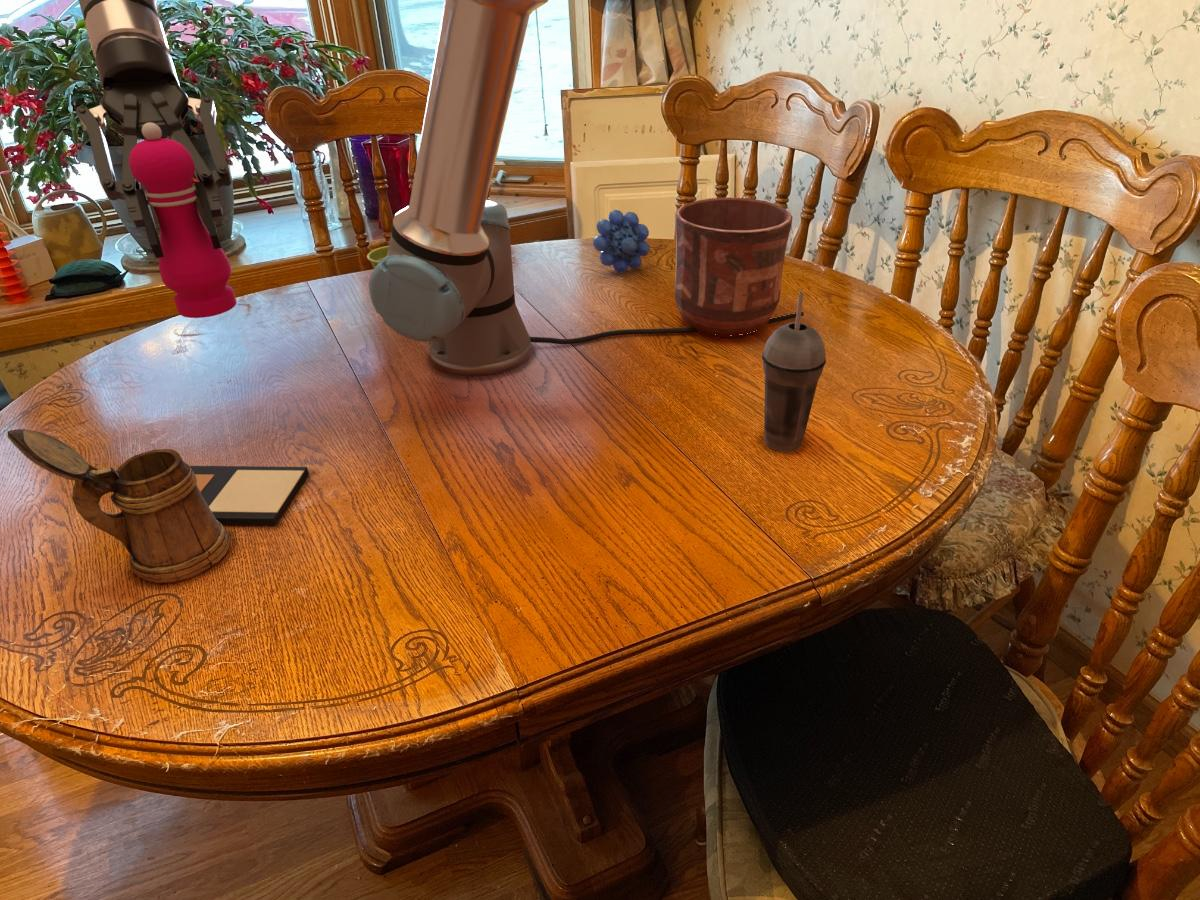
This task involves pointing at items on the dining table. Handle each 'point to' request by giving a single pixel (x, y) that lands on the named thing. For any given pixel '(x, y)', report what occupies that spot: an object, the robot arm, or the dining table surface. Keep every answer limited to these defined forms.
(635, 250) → the blue ball flower
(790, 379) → the beverage cup
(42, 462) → the wooden mug
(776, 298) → the pottery
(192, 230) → the pepper mill
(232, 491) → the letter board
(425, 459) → the dining table surface
